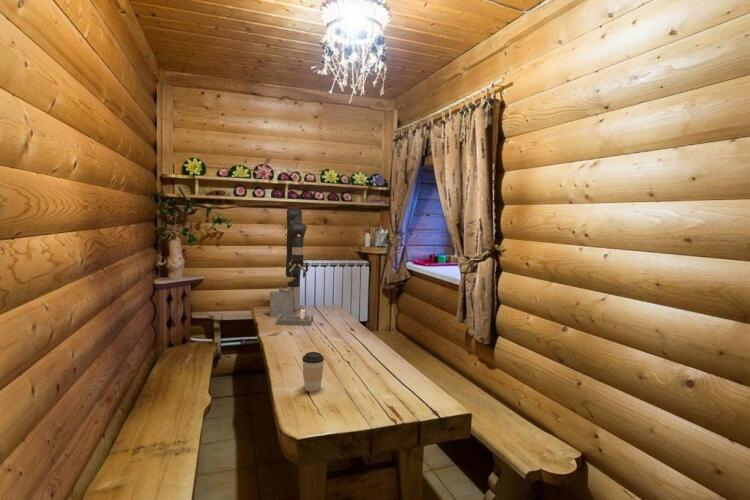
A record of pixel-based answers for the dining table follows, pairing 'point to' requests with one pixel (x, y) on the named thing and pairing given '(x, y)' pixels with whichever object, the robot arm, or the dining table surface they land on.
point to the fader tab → (302, 314)
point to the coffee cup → (312, 371)
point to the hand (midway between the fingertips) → (297, 277)
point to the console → (294, 320)
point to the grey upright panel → (281, 303)
